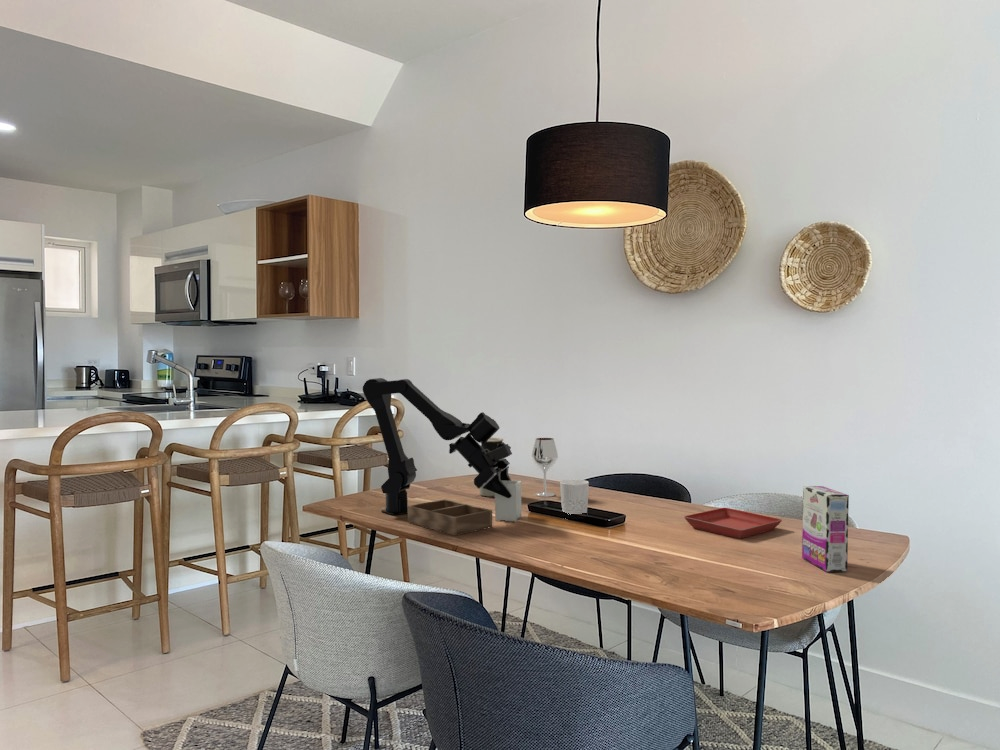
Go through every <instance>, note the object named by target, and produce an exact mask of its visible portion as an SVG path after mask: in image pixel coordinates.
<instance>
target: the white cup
mask: <svg viewBox="0 0 1000 750" xmlns="http://www.w3.org/2000/svg"><path fill="white" fill-rule="evenodd" d="M589 483H590V482H589V481H588V480H586V479H585V480H584V479H576V478H575V479H564V480H561V481H560V482H559V485H560V486H559V487H560V501H561V508H562V509H561V510H562V511H563V512H565V513H567V514H568V513H569V514H570V515H571V514H582V513H587V514H588V506H589V505H588V504H589V485H590V484H589ZM569 514H568V515H569ZM565 520H567V519H566V518H565Z"/></svg>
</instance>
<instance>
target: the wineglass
mask: <svg viewBox="0 0 1000 750" xmlns="http://www.w3.org/2000/svg"><path fill="white" fill-rule="evenodd" d="M531 458H532V461H533V463H534V464H535V465H536V466H537V467H538V468H539V469H540V470H541V471H542V473H543V490H542V491H543V492H536V493H535V494H534V496H537V497H541V498H546V497H547V498H548V497H550V498H551V497H554V496H556V494H555V492H554V493H553V492H548V491H547V472H548V471H549V470H550V469H551V468H552V467H553V466H554V465H555V464H556V463H557V461H558V450H557V446H556V443H555V439H554V438H552V437H538V438H537V437H536V438H535V441H534V445H533V449H532V453H531Z"/></svg>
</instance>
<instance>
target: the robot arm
mask: <svg viewBox="0 0 1000 750" xmlns="http://www.w3.org/2000/svg"><path fill="white" fill-rule="evenodd" d="M362 393H363V395H364V397H365V400H366V401H367V403H368V404H369V406H370V407H371V408H372V410H373V411H374V413H375V416H376V419H377V423H378V426H379V430H380V434H381V437H382V440H383V444H384V446H385V447H384V448H385V450H386V454H387V457H388V463H387V473H388V479H387V480H385V481H384V483H382V484H381V485H380V488H381V491H382V494H385V509H381V512H382V513H384V514H388V515H392V516H397V515H401V514H406V513H407V514H408V506H409V505H408V491H407V490H409V489H410V487H411V484H412V483H413V482H414V481H415V480H416V476H417V471H418V469H417V468H416V466H415V460H414V457H408V456H407V455H406V453H405V452H404V448H403V444H402V441H401V438H400V435H399V431H398V427H397V424H396V421H395V418H394V414H393V411H392V394H393V395H394V394H401V396H403V397H404V399H406V400H407V401H408V402H409V403H410V404H411V405H413V407H415V409H417V410H418V411H419V412H420V413H421V414H422V415H423V416H424V417H426V418H427V419H428V420H429V422H430V423H431V425H432V427H433V429H434V430H435V432H436V433H437V434H438V435H439V437H440V438H441V439H443V440H444V441H451V440H454V439H457V440H456V441H455V442H451V443H449V444H448V446H449V450H448V453H449V454H453V453H456V452H458V453H459V454H460V455H461V456H462V458H464V459H465V461H466V462H467V463H468V464H467V466H468V467H469V468H473V469H474V470H475V471H476V472H477V473H478V475H476V477H474V479H473V485H474V486H475V487H476V488H477V489H478V490H480V488H481V487H482V486H483V484H484V483H485V484H486V485H485V486H484V487H483V489H487V490H490V491H492V492H495V493H497V494H499V495H502V496H504V497H506V498H510V497H511V496H512V495H511V494H510V492H509V491H508V489H507V488H506V487H505V485H504V484H503V482H502V481H501V480H506V481H512V479H511V477H510V476H509V465H510V462H509V461H508V460H507V458H509V457H510V456H511V455H513V452H512V450H511V448H512V447H511V446H510V445H509V444H508V443H507V444H506V443H505V441H502V443H500V444H498V445H497V449H495V450H493V451H491V452H490V451H489V450H488V449H483V448H482V447H481V442H484V443H486V442H487V441H488V440H489V439H490V438H493V436H494V435H495V434H496V433H497V432H498V431H499V430H500V425H499V424H498V422H497V421H496V420H495V419H493V418H492V417H490V416H489V415H487V414H486V413H484V412H479V414H478V415H477V416H476V418H475V419H474V420H473V421H472V422H471V423H466V422H462V421H461V419H459V418H457V417H456V416H454V415H453V414H451V413H449V412H446V411H445V410H443V409H441V408H440V407H439V406H438V405H437V404H435V403H434V401H432V400H431V399H430V398H429V397H428V396H427V395H426V394H424V392H422V391H421V390H420V389H419V388H418V387H417V386H415V385H414V384H413V382H412V380H410V379H408V378H403V379H398V380H397V379H396V380H387V379H385V378H384V377H383V378H381V377H379V378H369V379H366V381H365V382H364V384H363V386H362ZM466 433H467V434H466ZM463 434H466V435H465V436H462V435H463ZM502 458H504V459H502ZM499 459H500V460H499Z"/></svg>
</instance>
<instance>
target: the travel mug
mask: <svg viewBox="0 0 1000 750" xmlns="http://www.w3.org/2000/svg"><path fill="white" fill-rule="evenodd" d="M502 442H504V438H501V437H491V438H490V439H489V440H488V441H487V442H486V443H484V442H481V443H480V446H481V447H482V448H483V449H488V450H489V451H490V452H491V451H493V450H495V449H497V445H498V444H500V443H502ZM502 459H505V458H502ZM499 460H500V459H499ZM485 485H486V484H485V483H484V484H483V486H482V487H481V488H479V495H480V496H482V497H485V496H486V498H490V497H491V498H495V492H492V491H490V490H487V489H483V487H484V486H485Z"/></svg>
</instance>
